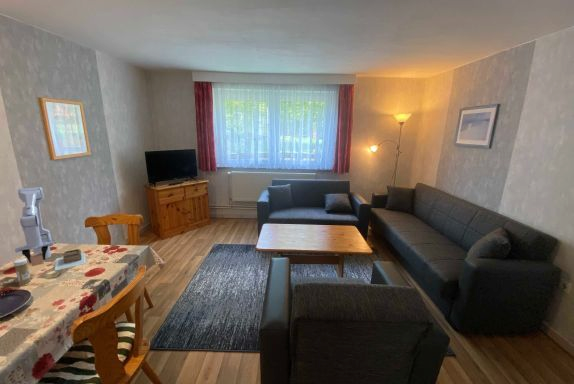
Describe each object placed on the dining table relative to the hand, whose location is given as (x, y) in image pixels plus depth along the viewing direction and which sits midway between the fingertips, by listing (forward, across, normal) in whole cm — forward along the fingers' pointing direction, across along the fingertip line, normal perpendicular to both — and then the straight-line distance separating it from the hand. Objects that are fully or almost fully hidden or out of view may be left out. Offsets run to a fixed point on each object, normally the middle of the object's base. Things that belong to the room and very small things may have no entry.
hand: (37, 260), depth 137 cm
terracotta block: (+2, 0, 0) cm, 2 cm away
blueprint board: (+8, +13, +5) cm, 16 cm away
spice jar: (+8, -5, -9) cm, 13 cm away
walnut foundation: (+7, +14, +8) cm, 17 cm away
